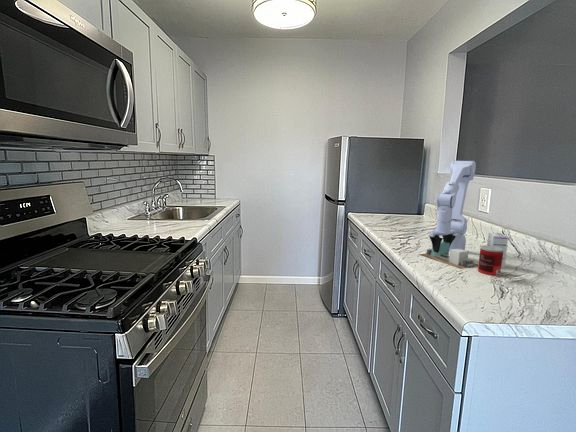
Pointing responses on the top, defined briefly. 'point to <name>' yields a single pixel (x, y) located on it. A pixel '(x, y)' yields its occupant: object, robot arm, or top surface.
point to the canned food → (490, 260)
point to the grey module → (458, 256)
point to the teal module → (442, 249)
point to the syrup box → (499, 243)
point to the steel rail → (465, 263)
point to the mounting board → (445, 261)
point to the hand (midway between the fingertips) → (440, 251)
